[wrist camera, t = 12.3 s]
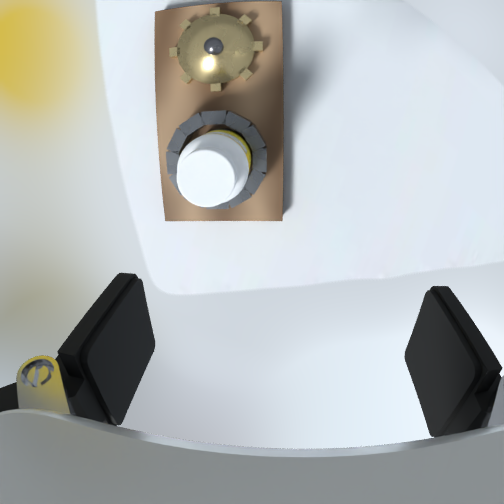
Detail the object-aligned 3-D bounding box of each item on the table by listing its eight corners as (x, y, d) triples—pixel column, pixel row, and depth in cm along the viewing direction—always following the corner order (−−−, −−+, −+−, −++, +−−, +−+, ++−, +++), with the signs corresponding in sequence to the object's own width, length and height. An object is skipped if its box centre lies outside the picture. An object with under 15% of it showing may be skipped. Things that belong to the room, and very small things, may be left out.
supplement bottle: (228, 194, 31) (211, 232, 22) (184, 160, 30) (150, 185, 21) (264, 152, 29) (262, 173, 20) (219, 116, 28) (196, 121, 19)
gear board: (281, 5, 24) (281, 1, 22) (281, 216, 33) (282, 221, 32) (159, 15, 24) (155, 11, 23) (169, 216, 34) (165, 221, 32)
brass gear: (262, 8, 23) (261, 1, 21) (263, 90, 26) (263, 89, 25) (172, 15, 23) (166, 10, 21) (173, 95, 27) (166, 94, 25)
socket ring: (266, 109, 27) (266, 109, 25) (266, 201, 31) (266, 209, 29) (171, 113, 28) (163, 114, 25) (177, 202, 32) (170, 209, 29)
